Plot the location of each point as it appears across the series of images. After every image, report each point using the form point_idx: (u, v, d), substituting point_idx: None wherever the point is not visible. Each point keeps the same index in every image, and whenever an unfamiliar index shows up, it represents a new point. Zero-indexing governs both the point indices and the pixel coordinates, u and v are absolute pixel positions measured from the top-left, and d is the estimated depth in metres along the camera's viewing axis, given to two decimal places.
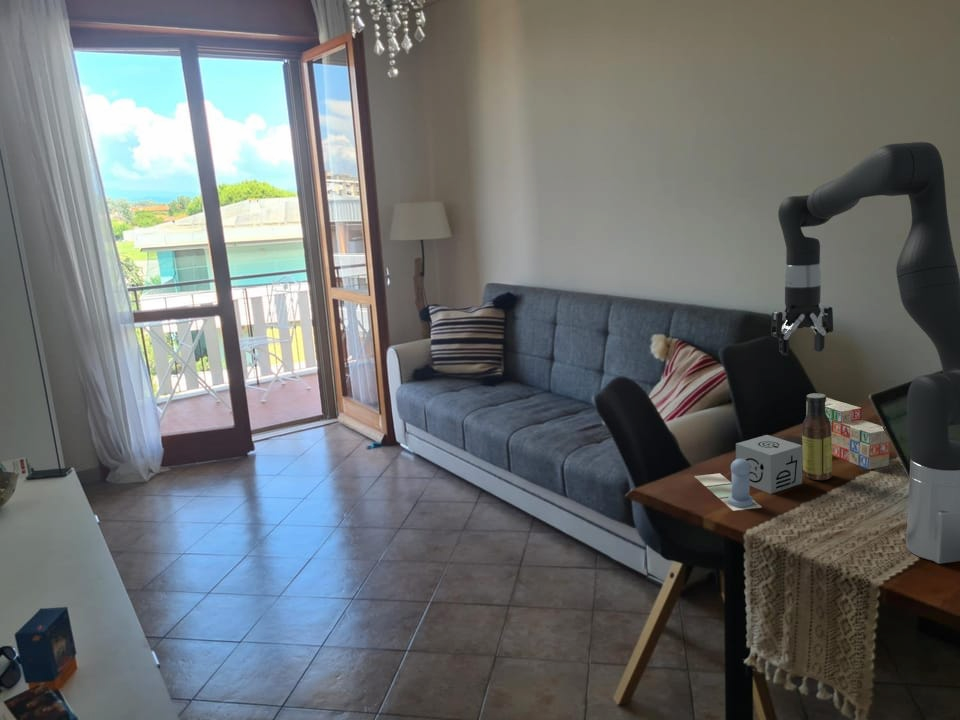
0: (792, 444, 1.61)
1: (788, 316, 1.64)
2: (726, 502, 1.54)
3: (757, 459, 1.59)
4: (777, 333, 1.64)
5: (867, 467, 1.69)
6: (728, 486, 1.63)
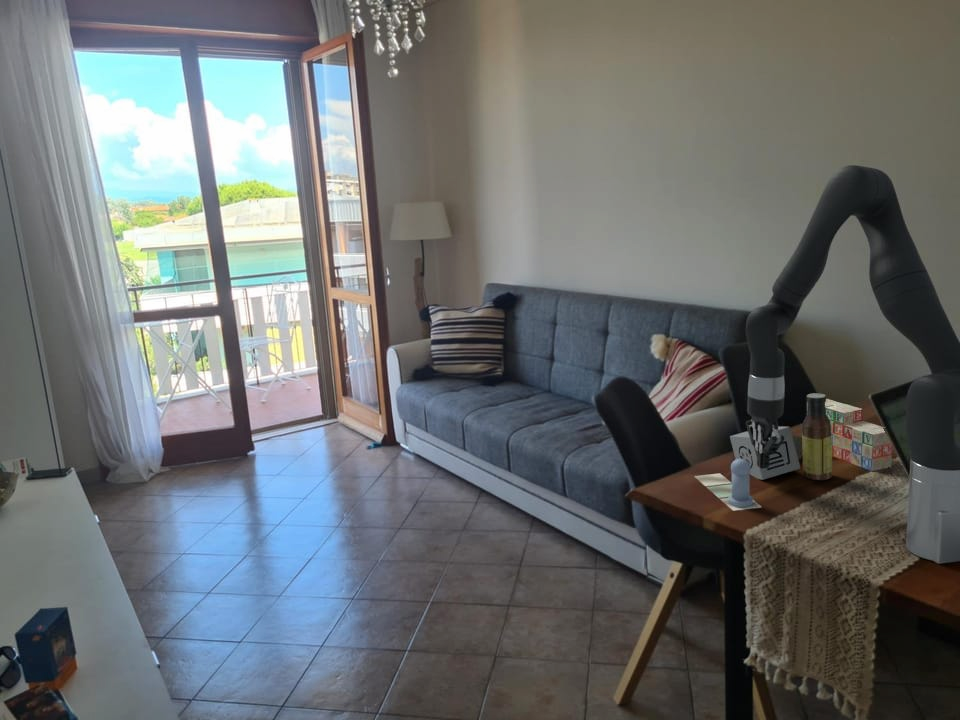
0: (781, 427, 1.67)
1: None
2: (726, 502, 1.54)
3: (745, 445, 1.68)
4: None
5: (870, 469, 1.67)
6: (728, 486, 1.63)
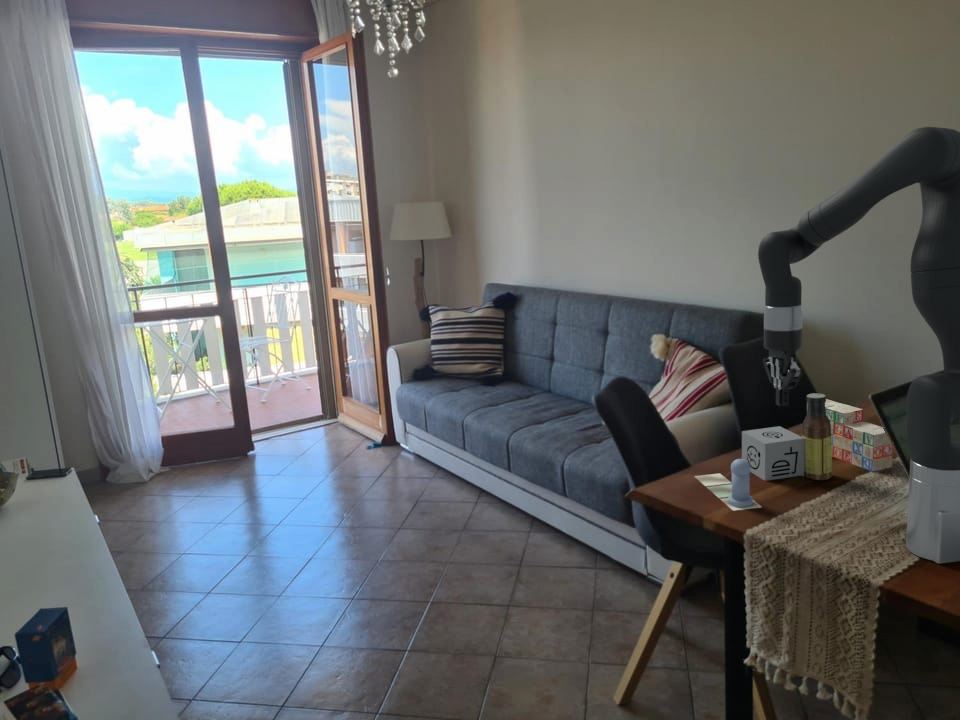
0: (795, 436, 1.66)
1: None
2: (726, 502, 1.54)
3: (756, 447, 1.66)
4: None
5: (871, 469, 1.67)
6: (728, 486, 1.63)
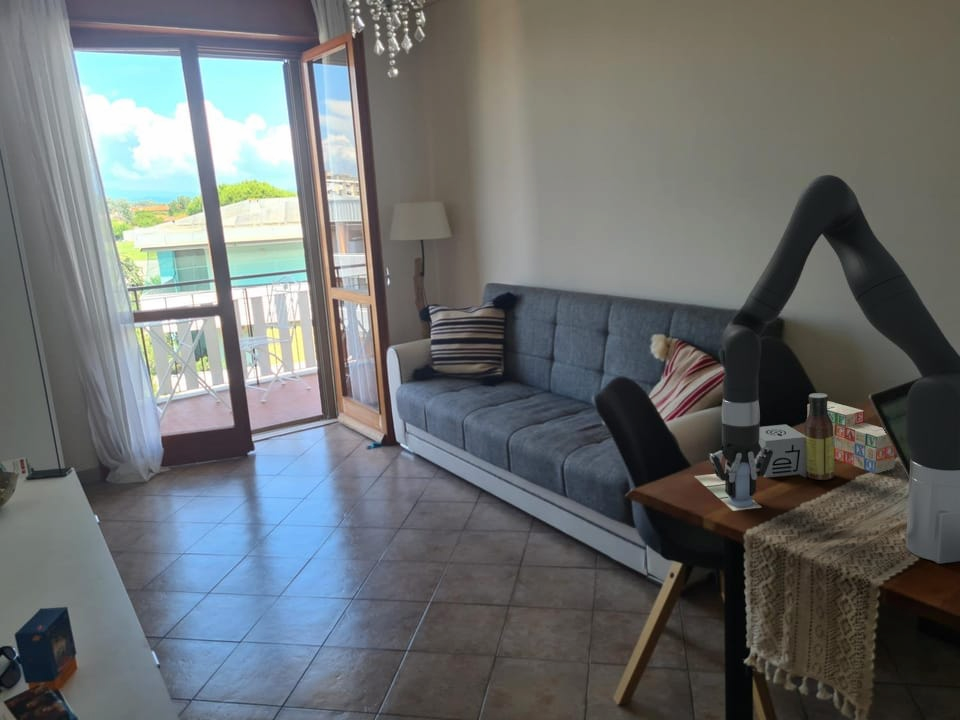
0: (798, 434, 1.67)
1: None
2: (726, 502, 1.54)
3: None
4: None
5: (873, 471, 1.66)
6: None
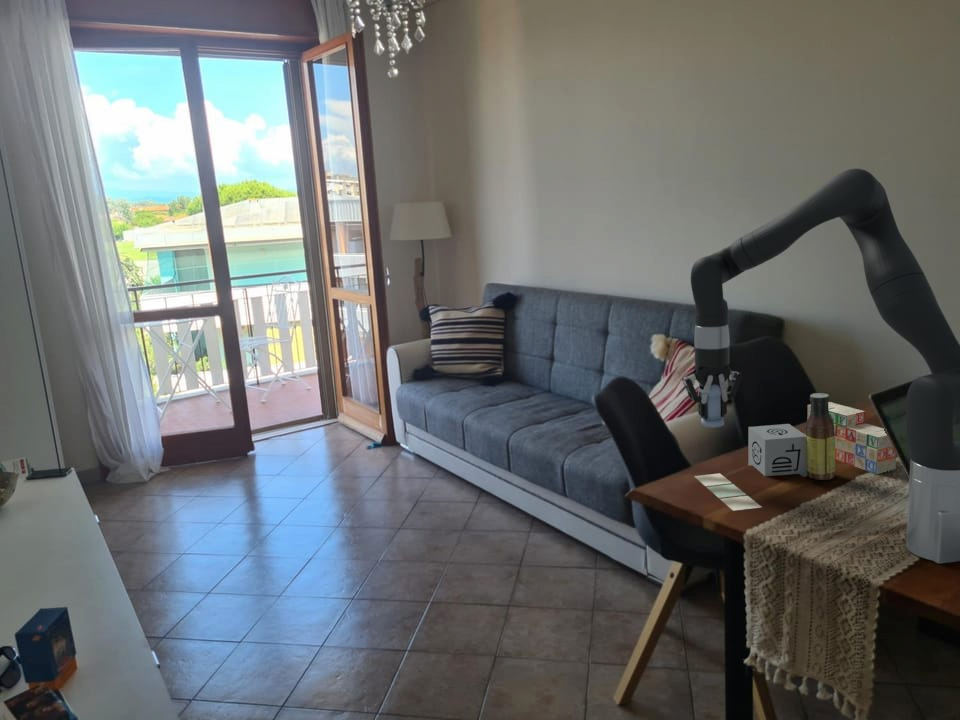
0: (799, 434, 1.67)
1: None
2: (726, 502, 1.54)
3: (758, 443, 1.69)
4: None
5: (875, 472, 1.65)
6: (728, 486, 1.63)
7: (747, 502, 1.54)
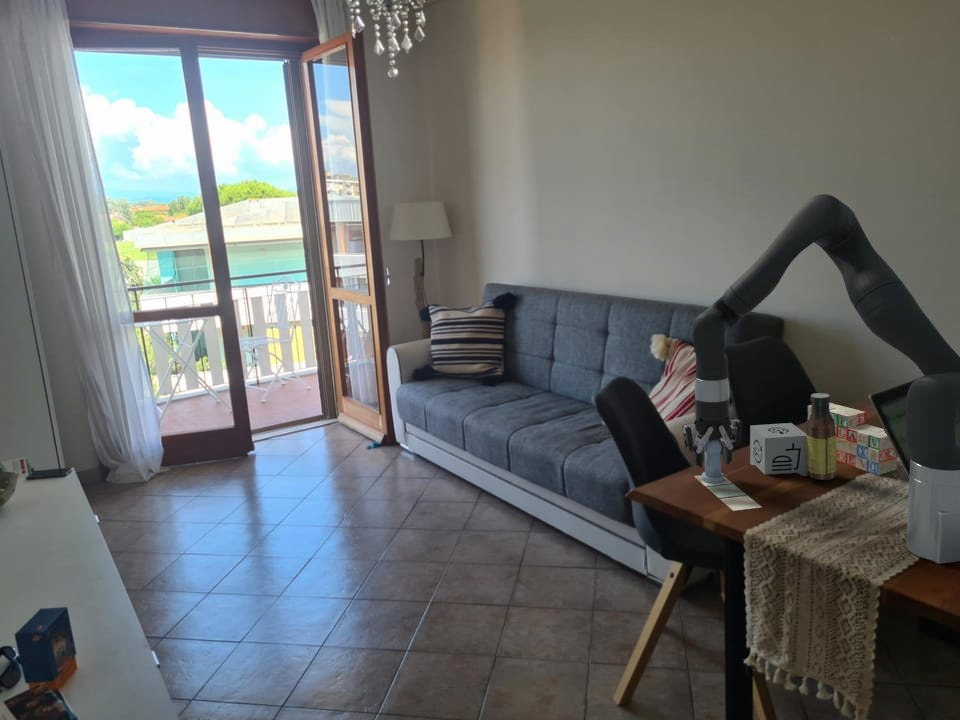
0: (800, 433, 1.67)
1: None
2: (726, 502, 1.54)
3: (759, 441, 1.70)
4: None
5: (876, 473, 1.65)
6: (728, 486, 1.63)
7: (747, 502, 1.54)
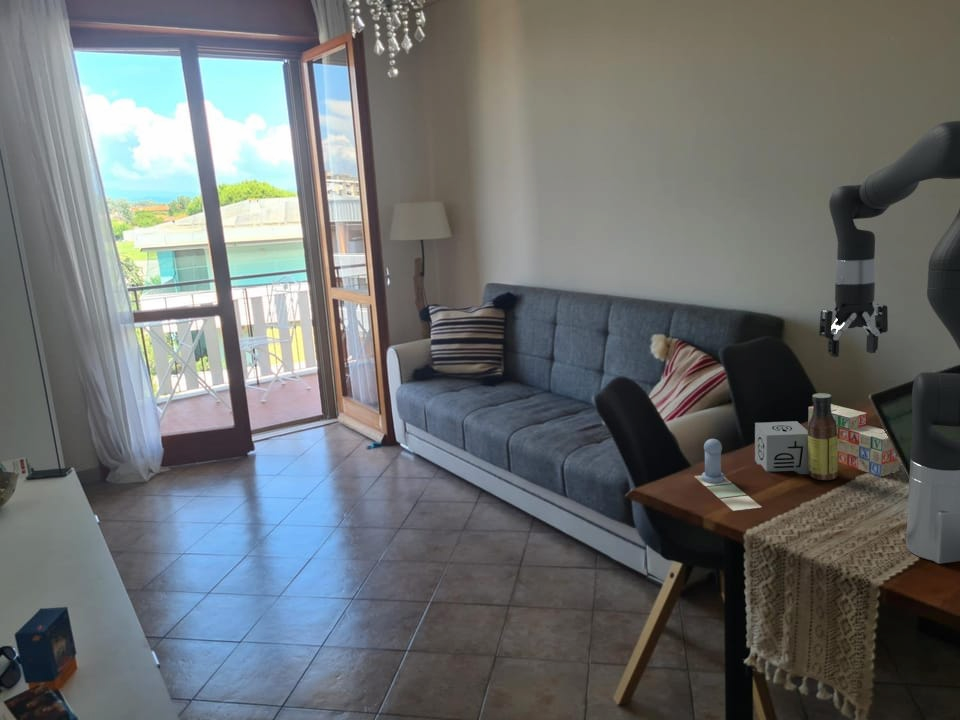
0: (803, 431, 1.69)
1: None
2: (726, 502, 1.54)
3: (762, 438, 1.72)
4: None
5: (879, 474, 1.64)
6: (728, 486, 1.63)
7: (747, 502, 1.54)
